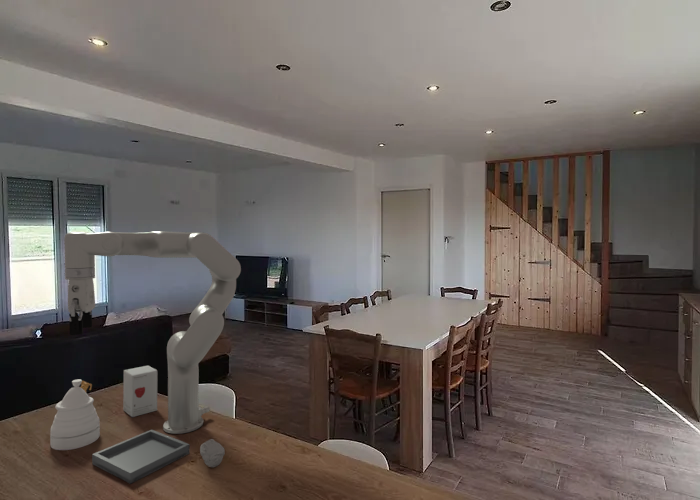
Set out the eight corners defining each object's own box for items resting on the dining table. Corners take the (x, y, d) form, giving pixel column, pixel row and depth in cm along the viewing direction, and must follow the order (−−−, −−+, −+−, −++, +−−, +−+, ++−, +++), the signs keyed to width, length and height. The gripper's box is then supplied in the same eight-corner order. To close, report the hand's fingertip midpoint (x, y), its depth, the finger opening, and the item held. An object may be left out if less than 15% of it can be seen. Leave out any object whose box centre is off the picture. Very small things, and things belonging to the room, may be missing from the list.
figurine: (82, 408, 155) (82, 376, 155) (97, 409, 154) (97, 377, 154) (63, 418, 147) (63, 383, 146) (79, 419, 146) (78, 385, 145)
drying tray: (151, 438, 133) (151, 429, 133) (189, 453, 123) (189, 444, 123) (92, 464, 117) (92, 454, 117) (130, 483, 108) (130, 473, 108)
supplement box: (131, 418, 147) (131, 375, 147) (122, 410, 154) (122, 369, 153) (158, 410, 154) (158, 369, 154) (148, 403, 160) (148, 364, 160)
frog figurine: (207, 458, 121) (207, 434, 120) (229, 462, 119) (229, 437, 119) (194, 469, 115) (194, 444, 115) (217, 473, 113) (217, 447, 113)
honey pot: (57, 434, 135) (57, 378, 134) (103, 428, 139) (103, 374, 139) (44, 453, 123) (43, 392, 122) (95, 446, 127) (94, 387, 127)
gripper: (86, 275, 118) (87, 336, 119) (101, 271, 135) (102, 324, 135) (55, 276, 116) (56, 338, 116) (74, 271, 132) (75, 325, 133)
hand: (81, 330), depth 126 cm, fingers open, 9 cm apart
